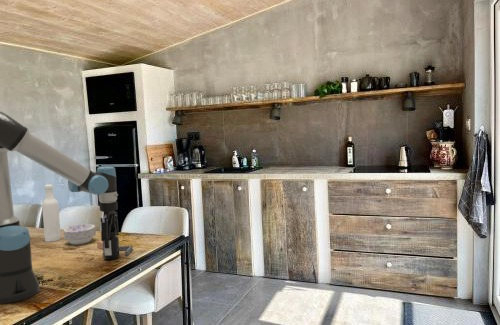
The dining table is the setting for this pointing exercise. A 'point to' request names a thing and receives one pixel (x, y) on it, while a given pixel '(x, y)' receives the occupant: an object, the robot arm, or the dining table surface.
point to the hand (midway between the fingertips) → (111, 252)
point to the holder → (127, 248)
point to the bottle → (51, 216)
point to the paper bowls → (79, 233)
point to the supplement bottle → (112, 246)
